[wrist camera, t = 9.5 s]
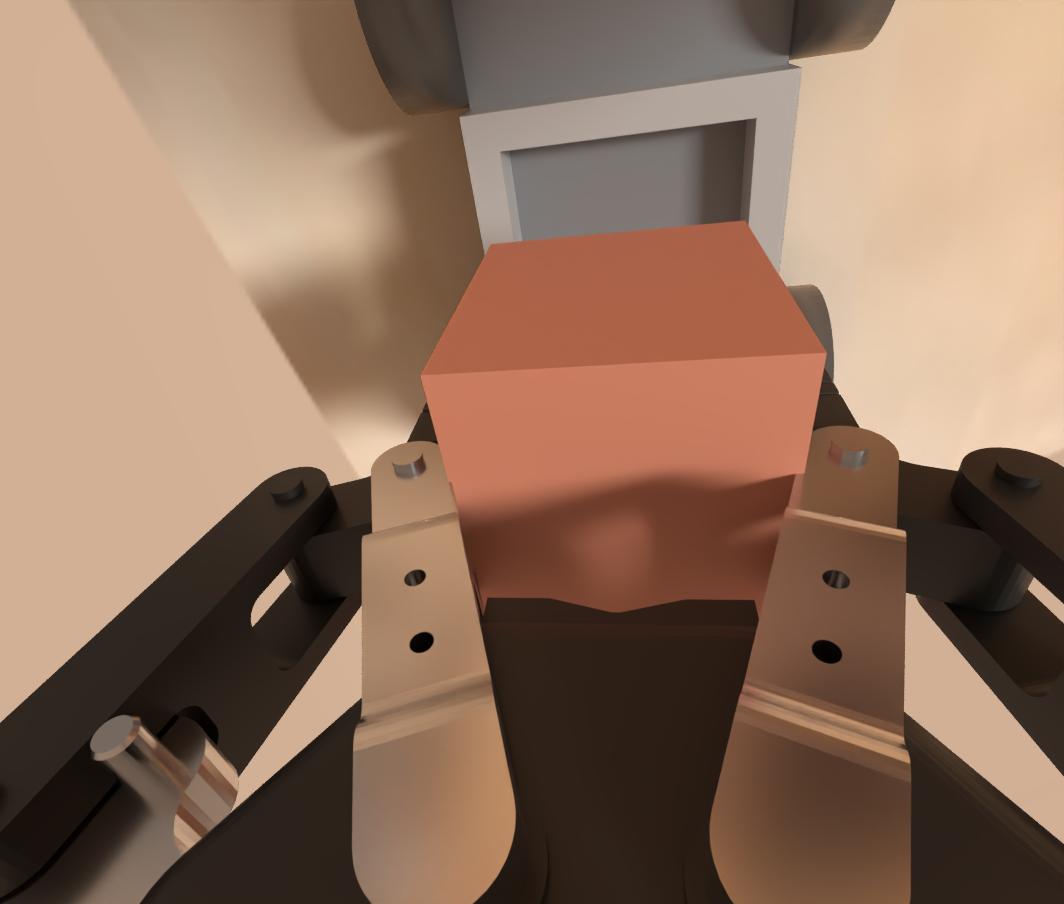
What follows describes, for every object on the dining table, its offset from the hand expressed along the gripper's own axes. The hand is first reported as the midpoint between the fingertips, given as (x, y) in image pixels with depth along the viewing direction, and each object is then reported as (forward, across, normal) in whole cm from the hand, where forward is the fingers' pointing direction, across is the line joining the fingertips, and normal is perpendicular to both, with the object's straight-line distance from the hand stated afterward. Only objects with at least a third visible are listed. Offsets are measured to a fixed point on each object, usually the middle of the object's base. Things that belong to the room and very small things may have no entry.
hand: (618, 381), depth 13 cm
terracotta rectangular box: (+1, 0, 0) cm, 1 cm away
